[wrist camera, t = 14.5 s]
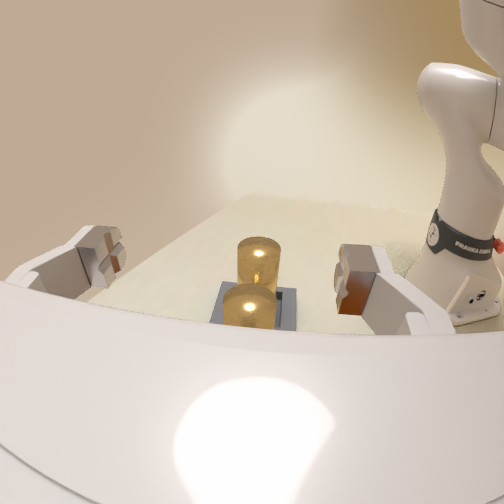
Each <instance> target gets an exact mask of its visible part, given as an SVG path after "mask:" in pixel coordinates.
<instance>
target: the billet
mask: <svg viewBox="0 0 504 504" xmlns="http://www.w3.org/2000/svg"><path fill="white" fill-rule="evenodd" d="M276 308H277V298H276V296H275V294H274V293H273V292H272V291H271V290H270V289H268V288H267V287H265V286H262V285H259V284H254V283H245V284H239V285H236V286H234V287H232V288H230V289H229V290H228V291H227V292H226V293H225V295H224V297H223V320H224V325H230V326H239V327H248V328H259V329H270V330H274V324H275V316H276Z"/></svg>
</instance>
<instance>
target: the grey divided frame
mask: <svg viewBox="0 0 504 504" xmlns="http://www.w3.org/2000/svg"><path fill="white" fill-rule="evenodd" d="M236 285H237V283H233V282H224V281H222V284H221V287H220V291H219V294H218V297H217V300H216V303H215V307H214V310H213V313H212V316H211V320H210V323H213V324H221V325H224V320H223V297H224V295H225V293H226V292H227V291H228V290H229V289H230V288H232V287H234V286H236ZM276 298H277V308H276V316H275V324H274V330H282V331H295V332H296V289H294V288H283V287H277V289H276Z"/></svg>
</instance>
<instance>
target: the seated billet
mask: <svg viewBox="0 0 504 504" xmlns="http://www.w3.org/2000/svg"><path fill="white" fill-rule="evenodd" d="M280 252H281V248H280V245H279V244H278V243H277V242H276V241H274V240H272V239H269V238H265V237H250V238H247V239H244V240H242V241H241V242H240V243H239V245H238V277H237V285H239V284H245V283H254V284H259V285H262V286H265V287H267V288H268V289H270V290H271V291H272V292H273V293H274V294H275V296H276V289H277V280H278V271H279V261H280Z"/></svg>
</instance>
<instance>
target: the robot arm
mask: <svg viewBox="0 0 504 504" xmlns="http://www.w3.org/2000/svg"><path fill="white" fill-rule="evenodd" d="M459 3H460V12H461V25H462V31H463V34H464V37H465V38H466V40H467V42H468V44H469V45H470V46H471V48H472V49H473V50H474V51H475V53H476V54H477V55H478V56H479V57H480V58H481V59H482V60H484V61H485V62H486V63H487V64H489V65H490V66H491V67H492V68H493V69H494V70H495V71H496V72H497V73H498V75H499V76H500V78H498V77H497V78H496V77H493V76H491V75H488V74H485V73H483V72H479V71H477V70H474V69H471V68H468V67H464V66H461V65H457V64H449V63H430V64H429V65H428V66H427V67H425V68H424V70H423V71H422V72H421V74H420V77H419V79H418V84H417V95H418V100H419V103H420V105H421V108H422V110H423V111H424V113H425V114H426V116H427V117H428V118H429V119H430V120H431V122H432V123H433V125H434V126H435V128H436V129H437V131H438V133H439V135H440V137H441V140H442V143H443V146H444V150H445V155H446V175H445V181H444V187H443V191H442V196H441V199H440V203H439V207H438V209H436V210H435V212H434V215H433V218H432V220H431V224H430V227H429V230H428V234H427V238H426V242H425V244H424V247H423V249H422V251H421V252H420V254H419V256H418V258H417V259H416V261H415V262H414V264H413V265H412V267H411V268H410V269H409V270H408V272H407V273H406V275H405V278H403V277H402V276H401V275H399V274H395V272H394V269H393V267H392V264H391V262H390V260H389V258H388V255H387V253H386V251H385V248H384V247H383V246H369V245H353V244H341V247H340V250H339V259H340V262H339V263H338V264H337V265H336V269H335V275H334V289H335V292H336V293H337V298H336V304H337V311H338V314H347V315H361V317H362V318H363V319H364V320H365V322H366V323H367V324H368V325H369V326H370V328H371V329H372V330H373V331H374V333H375V334H376V335H353V334H328V333H310V332H295V331H282V330H270V329H259V328H248V327H239V326H230V325H221V324H213V323H205V322H197V321H190V320H183V319H176V318H170V317H163V316H157V315H151V314H145V313H139V312H134V311H128V310H123V309H117V308H112V307H107V306H102V305H97V304H92V303H88V302H83V301H78V300H74V299H75V298H77V297H78V296H79V295H81V294H82V293H84V292H85V291H86V290H88V289H89V288H91V286H93V287H99V288H107V289H108V288H109V287H110V285H111V284H112V282H113V281H114V279H115V278H116V276H115V273H117V272H119V271H120V270H121V269H122V268H123V266H124V264H125V260H126V252H125V248H124V246H123V245H122V244H121V243H120V240H121V238H122V236H121V232H120V230H119V229H118V228H117V227H108V226H96V225H87V226H84V227H83V228H82V229H81V230H80V231H79V232H78V233H77V234H76V235H75V236H74V237H73V238H72V239H70V241H69V242H67V243H66V244H65V246H59V247H57V248H55V249H54V250H51V251H49V252H47V253H45V254H43V255H41V256H39V257H37V258H34V259H32V260H31V261H28V262H26V263H25V264H22V265H21V266H19V267H17V268H16V269H15V270H14V271H13V272H12V273H11V275H10V276H9V277H8V278H7V279H6V280H5V281H1V280H0V504H504V331H493V332H480V333H464V334H456V332H455V329H454V327H453V326H458V325H462V324H466V323H470V322H474V321H478V320H482V319H486V318H489V317H493V316H497V315H499V313H500V311H501V306H500V302H499V299H498V297H497V295H498V293H499V291H500V288H501V277H500V274H499V272H498V269H497V267H496V265H495V262H494V260H493V258H492V250H493V248H494V249H495V250H496V251H497V252H498V254H501V253H502V252H503V250H504V243H503V242H501V240H500V239H495V238H494V235H493V233H494V231H495V228H496V226H497V223H498V220H499V217H500V214H501V212H502V208H503V205H504V185H503V183H502V181H501V179H500V178H499V176H498V175H497V174H496V172H495V171H494V170H493V169H492V168H491V166H490V165H489V164H488V163H487V162H486V161H485V159H484V158H483V156H482V153H481V145H482V144H483V143H488V144H490V145H493V146H495V147H497V148H499V149H501V150H503V151H504V0H459Z"/></svg>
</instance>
